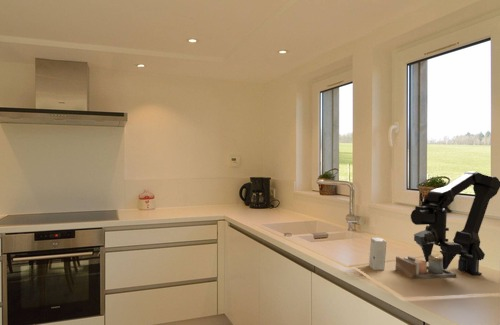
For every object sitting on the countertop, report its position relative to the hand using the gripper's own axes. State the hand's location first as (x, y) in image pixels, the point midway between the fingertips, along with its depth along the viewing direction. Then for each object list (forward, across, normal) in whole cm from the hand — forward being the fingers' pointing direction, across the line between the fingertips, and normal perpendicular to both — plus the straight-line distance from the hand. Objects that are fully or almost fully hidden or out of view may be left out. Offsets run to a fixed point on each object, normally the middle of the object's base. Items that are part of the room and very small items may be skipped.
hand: (435, 265), depth 133 cm
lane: (+4, 0, -4) cm, 6 cm away
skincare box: (+4, -8, -20) cm, 21 cm away
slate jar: (+3, 0, 0) cm, 3 cm away
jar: (+3, 0, -7) cm, 8 cm away
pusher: (+3, 0, -10) cm, 11 cm away
